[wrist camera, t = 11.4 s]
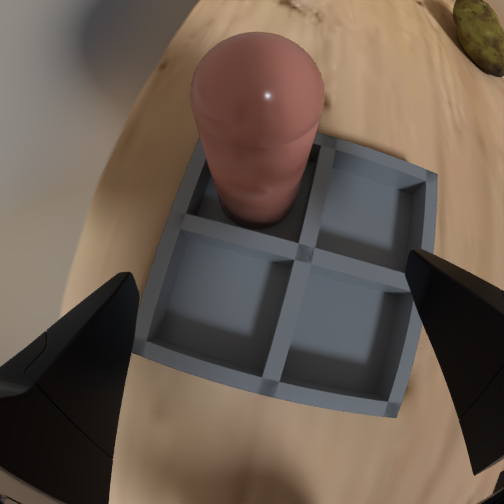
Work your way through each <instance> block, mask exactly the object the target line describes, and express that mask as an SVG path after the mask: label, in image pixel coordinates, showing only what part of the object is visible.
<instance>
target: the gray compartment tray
mask: <svg viewBox="0 0 504 504" xmlns="http://www.w3.org/2000/svg"><path fill="white" fill-rule="evenodd" d="M436 212H437V174H436V173H434V172H431V171H429V170H426V169H424V168H421V167H419V166H416V165H414V164H411V163H409V162H406V161H404V160H401V159H398V158H396V157H393V156H390V155H387V154H384V153H382V152H379V151H376V150H373V149H370V148H367V147H364V146H361V145H358V144H355V143H352V142H348V141H345V140H342V139H339V138H335V137H332V136H328V135H325V134H321V133H318V132H316V135H315V138H314V141H313V144H312V148H311V151H310V154H309V157H308V161H307V164H306V167H305V170H304V173H303V177H302V180H301V183H300V186H299V189H298V192H297V196H296V199H295V202H294V205H293V207H292V209H291V211H290V213H289V214H288V215H287V217H286V218H285V219H283V220H282V221H281V222H279V223H278V224H276V225H274V226H272V227H269V228H264V229H250V228H245V227H242V226H240V225H238V224H236V223H234V222H233V221H232V220H230V219H229V218H228V217H227V216H226V214H225V213H224V212H223V210H222V208H221V206H220V203H219V199H218V196H217V193H216V189H215V186H214V183H213V179H212V176H211V172H210V169H209V166H208V162H207V159H206V155H205V152H204V149H203V145H202V142H201V138H199V140H198V143H197V145H196V147H195V150H194V152H193V154H192V157H191V159H190V162H189V164H188V167H187V169H186V172H185V174H184V177H183V179H182V182H181V184H180V187H179V190H178V192H177V195H176V198H175V200H174V203H173V206H172V208H171V211H170V214H169V217H168V219H167V222H166V225H165V228H164V231H163V234H162V236H161V239H160V242H159V245H158V248H157V251H156V254H155V257H154V260H153V263H152V267H151V270H150V273H149V276H148V279H147V283H146V286H145V289H144V292H143V296H142V299H141V303H140V306H139V310H138V313H137V322H136V330H135V338H134V343H133V348H132V353H134V354H137V355H139V356H142V357H144V358H147V359H149V360H152V361H155V362H157V363H160V364H163V365H166V366H168V367H171V368H174V369H177V370H180V371H183V372H186V373H189V374H192V375H195V376H198V377H201V378H204V379H207V380H211V381H214V382H217V383H220V384H224V385H227V386H231V387H234V388H238V389H242V390H245V391H249V392H253V393H257V394H261V395H265V396H269V397H273V398H277V399H282V400H286V401H291V402H295V403H300V404H305V405H310V406H315V407H321V408H326V409H332V410H338V411H344V412H351V413H358V414H365V415H373V416H381V417H391V418H397V415H398V412H399V409H400V406H401V403H402V400H403V397H404V393H405V390H406V387H407V383H408V380H409V376H410V373H411V369H412V365H413V362H414V358H415V354H416V350H417V345H418V341H419V337H420V332H421V327H422V321H421V319H420V317H419V314H418V312H417V309H416V306H415V303H414V300H413V297H412V294H411V291H410V289H409V286H408V283H407V280H406V278H405V267H406V263H407V259H408V255H409V252H410V250H412V249H423V250H425V251H428V252H430V253H432V254H433V250H434V240H435V228H436Z"/></svg>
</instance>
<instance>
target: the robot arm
mask: <svg viewBox="0 0 504 504" xmlns="http://www.w3.org/2000/svg"><path fill="white" fill-rule="evenodd" d="M405 278H406V280H407V283H408V286H409V289H410V291H411V294H412V297H413V300H414V303H415V306H416V309H417V312H418V314H419V317H420V319H421V321H422V323H423V326H424V328H425V330H426V333H427V335H428V337H429V340H430V342H431V344H432V347H433V349H434V352H435V354H436V357H437V359H438V362H439V364H440V367H441V370H442V372H443V375H444V378H445V380H446V383H447V386H448V389H449V392H450V395H451V397H452V400H453V403H454V406H455V409H456V413H457V416H458V419H460V420H459V423H460V426H461V429H462V433H463V436H464V440H465V443H466V447H467V451H468V455H469V459H470V463H471V467H472V471H473V474H474V476H475V475H477V474H479V473H480V472H482V471H484V470H486V469H487V468H489V467H491V466H493V465H494V464H496V463H498V462H499V461H501V460H503V459H504V291H503V290H500V289H499V288H498V287H496V286H494V285H492V284H490V283H488V282H487V281H485V280H483V279H481V278H479V277H477V276H475V275H473V274H472V273H470V272H468V271H466V270H464V269H462V268H460V267H458V266H456V265H454V264H452V263H450V262H448V261H446V260H444V259H442V258H440V257H438V256H436V255H434V254H432V253H430V252H428V251H425V250H423V249H412V250H410V252H409V255H408V259H407V263H406V267H405ZM138 306H139V292H138V289H137V286H136V283H135V280H134V277H133V275H132V273H131V272H120V273H118V274H117V275H115V276H114V277H113V278H111V279H110V280H109V281H107V282H106V283H105V284H103V285H102V286H101V287H100V288H98V289H97V290H96V291H94V292H93V293H92V294H91V295H89V296H88V297H87V298H85V299H84V300H83V301H82V302H80V303H79V304H78V305H77V306H75V307H74V308H73V309H72V310H70V311H69V312H68V313H67V314H66V315H64V316H63V317H62V318H61V319H59V320H58V321H57V322H56V323H55V324H53V325H52V326H51V327H50V328H49V329H47V332H46V331H45V332H44V333H42V334H41V335H40V336H39V337H38V338H37V339H35V340H34V341H33V342H32V343H31V344H29V345H28V346H27V347H26V348H24V349H23V350H22V351H20V352H19V353H18V354H16V355H15V356H14V357H13V358H11V359H10V360H9V361H7V362H6V363H5V364H3V365H2V366H1V367H0V504H109V493H110V482H111V473H112V464H113V455H114V447H115V440H116V433H117V427H118V420H119V414H120V408H121V403H122V397H123V392H124V386H125V381H126V376H127V371H128V366H129V362H130V357H131V352H132V348H133V343H134V338H135V330H136V322H137V313H138ZM477 504H504V471H502V472H501V473H500V475H499V478H498V480H497V483H496V486H495V488H494V491H493V494H492V495H491V496H489V497H487V498H486V499H484V500H482V501H480V502H479V503H477Z"/></svg>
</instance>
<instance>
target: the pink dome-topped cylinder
mask: <svg viewBox="0 0 504 504" xmlns="http://www.w3.org/2000/svg"><path fill="white" fill-rule="evenodd" d="M190 99H191V106H192V110H193V114H194V117H195V121H196V124H197V128H198V131H199V135H200V138H201V142H202V145H203V149H204V152H205V155H206V159H207V162H208V166H209V169H210V172H211V176H212V179H213V183H214V186H215V189H216V193H217V196H218V199H219V203H220V206H221V208H222V210H223V212H224V213H225V214H226V216H227V217H228V218H229V219H230V220H232V221H233V222H234V223H236V224H238V225H240V226H242V227H245V228H250V229H264V228H269V227H272V226H274V225H276V224H278V223H279V222H281V221H282V220H283V219H285V218H286V217H287V215H288V214H289V213H290V211H291V209H292V207H293V205H294V202H295V199H296V196H297V192H298V189H299V186H300V183H301V180H302V177H303V173H304V170H305V167H306V164H307V161H308V157H309V154H310V151H311V148H312V144H313V141H314V138H315V135H316V131H317V128H318V125H319V121H320V118H321V115H322V111H323V107H324V101H325V90H324V83H323V79H322V76H321V73H320V71H319V69H318V67H317V65H316V63H315V62H314V60H313V59H312V58H311V56H310V55H309V54H308V53H307V52H306V51H305V50H304V49H303V48H302V47H300V46H299V45H298V44H296V43H295V42H293V41H291V40H289V39H287V38H285V37H283V36H280V35H277V34H273V33H267V32H247V33H242V34H238V35H235V36H232V37H230V38H227V39H225V40H223V41H221V42H220V43H218V44H217V45H216V46H214V47H213V48H212V49H211V50H209V52H208V53H207V54H206V55H205V56H204V57H203V58H202V60H201V61H200V63H199V65H198V66H197V69H196V71H195V73H194V76H193V79H192V83H191V92H190Z"/></svg>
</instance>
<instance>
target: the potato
mask: <svg viewBox="0 0 504 504" xmlns="http://www.w3.org/2000/svg"><path fill="white" fill-rule="evenodd" d="M453 18H454V22H455V24H456V26H457V27H458V38H459V41H460V43H461V45H462V47H463V48H464V50H465V51H466V53H467V54H468V55H469V56H470V57H471V58H472V60H473V61H474V62H475V63H476V64H477V65H479V66H480V67H481V68H482V69H483V70H484V71H486V72H487V73H489V74H491V75H493V76H496V77H502V76H504V32H503V29H502V27H501V25H500V23H499V20H498V17H497V15H496V13H495V12H494V10H493V9H492V8H491V7H490V6H489V5H488V4H487V3H486V2H484V1H483V0H456V2H455V4H454V8H453Z"/></svg>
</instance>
